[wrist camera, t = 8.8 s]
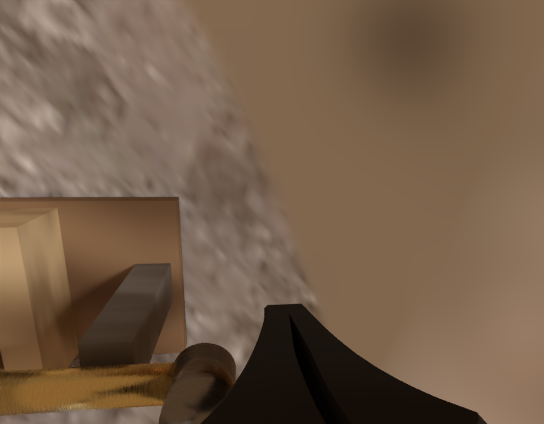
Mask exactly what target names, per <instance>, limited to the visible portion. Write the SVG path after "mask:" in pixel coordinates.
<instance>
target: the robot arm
mask: <svg viewBox="0 0 544 424" xmlns="http://www.w3.org/2000/svg"><path fill="white" fill-rule="evenodd" d="M200 424H487V423H486V422H485V421H484V420H483V419H482V417H480V416H479V414H478V413H477V412H475V411H472V410H469V409H466V408H464V407H461V406H458V405H455V404H453V403H450V402H447V401H445V400H442V399H439V398H437V397H434V396H432V395H430V394H427V393H425V392H423V391H421V390H419V389H416V388H414V387H412V386H410V385H408V384H406V383H404V382H402V381H400V380H398V379H396V378H395V377H393V376H391V375H389V374H387V373H386V372H384V371H382V370H380V369H379V368H377V367H375V366H374V365H372V364H371V363H369V362H368V361H366V360H365V359H363V358H362V357H360V356H359V355H357V354H356V353H355V352H353V351H352V350H351V349H349V348H348V347H347V346H346V345H344V344H343V343H342V342H341V341H340V340H338V339H337V338H336V337H335V336H334V335H333V334H331V333H330V332H329V331H328V330H327V329H326V328H325V327H324V326H323V325H322V324H321V323H320V322H319V321H318V320H317V319H316V318H315V317H314V316H313V315H312V314H311V313H310V312H309V311H308V310H307V309H306V308H305V307H304V306H303V305H302V304H284V305H267V306H266V307H265V308H264V322H263V326H262V329H261V332H260V336H259V338H258V341H257V343H256V346H255V348H254V350H253V352H252V355H251V357H250V359H249V361H248V362H247V364H246V366H245V368H244V369H243V371H242V373H241V375H240V376H239V378H238V379H237V380H236V382H235V383H234V385H233V386H232V388H231V389H230V391H229V392H228V393H227V395H226V396H225V397H224V398H223V399H222V400H221V402H220V403H219V404H218V405H217V406H216V408H215V409H214V410H213V411H212V412H211V413H210V414H209V415H208V417H207V418H206V419H204V420H203V421H202V422H201V423H200Z"/></svg>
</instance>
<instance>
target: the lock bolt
mask: <svg viewBox="0 0 544 424" xmlns="http://www.w3.org/2000/svg"><path fill="white" fill-rule="evenodd" d="M235 382H236V365H235V361H234V359H233V357H232V355H231V354H230V353H229V352H228V351H227V350H226V349H224V348H223V347H221V346H218V345H215V344H211V343H200V344H195V345H192V346H190V347H188V348H186V349H185V350H183V351H182V352H181V353H180V354H179V355H178V357H177V358H176V360H175V362H169V363H149V364H129V365H110V366H90V367H71V368H51V369H31V370H12V371H0V416H3V415H19V414H34V413H50V412H66V411H82V410H98V409H114V408H130V407H146V406H161V405H163V407H162V411H161V414H160V418H159V424H200V423H201V422H202V421H203V420H204V419H206V418H207V417H208V415H209V414H210V413H211V412H212V411H213V410H214V409H215V408H216V406H217V405H218V404H219V403H220V402H221V400H222V399H223V398H224V397H225V396H226V395H227V393H228V392H229V391H230V389H231V388H232V386H233V385H234V383H235Z"/></svg>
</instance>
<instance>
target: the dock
mask: <svg viewBox="0 0 544 424" xmlns="http://www.w3.org/2000/svg"><path fill="white" fill-rule="evenodd" d="M186 344H187V337H186V319H185V301H184V283H183V265H182V247H181V230H180V212H179V197H42V198H0V371H12V370H31V369H51V368H68V367H69V366H70V364H71V363H72V361H73V360H74V358H77V357H79V358H80V365H81V367H90V366H110V365H129V364H149V363H150V360H151V357H152V355H153V354H160V353H181V352H182V351H183V350H185V348H186Z"/></svg>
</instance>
